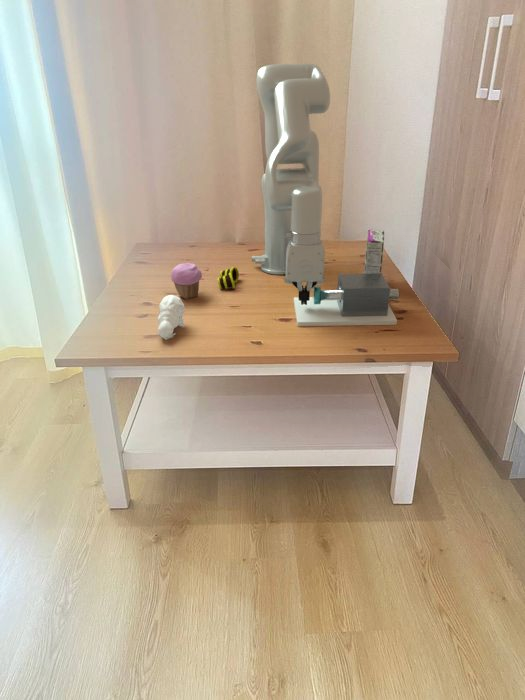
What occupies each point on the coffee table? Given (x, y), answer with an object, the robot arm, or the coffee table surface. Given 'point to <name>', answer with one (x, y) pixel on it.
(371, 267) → the candy bar box
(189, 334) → the coffee table surface
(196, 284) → the cupcake
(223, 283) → the opera glasses
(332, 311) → the mounting board
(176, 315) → the white figurine
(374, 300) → the shaft housing
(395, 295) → the steel shaft
